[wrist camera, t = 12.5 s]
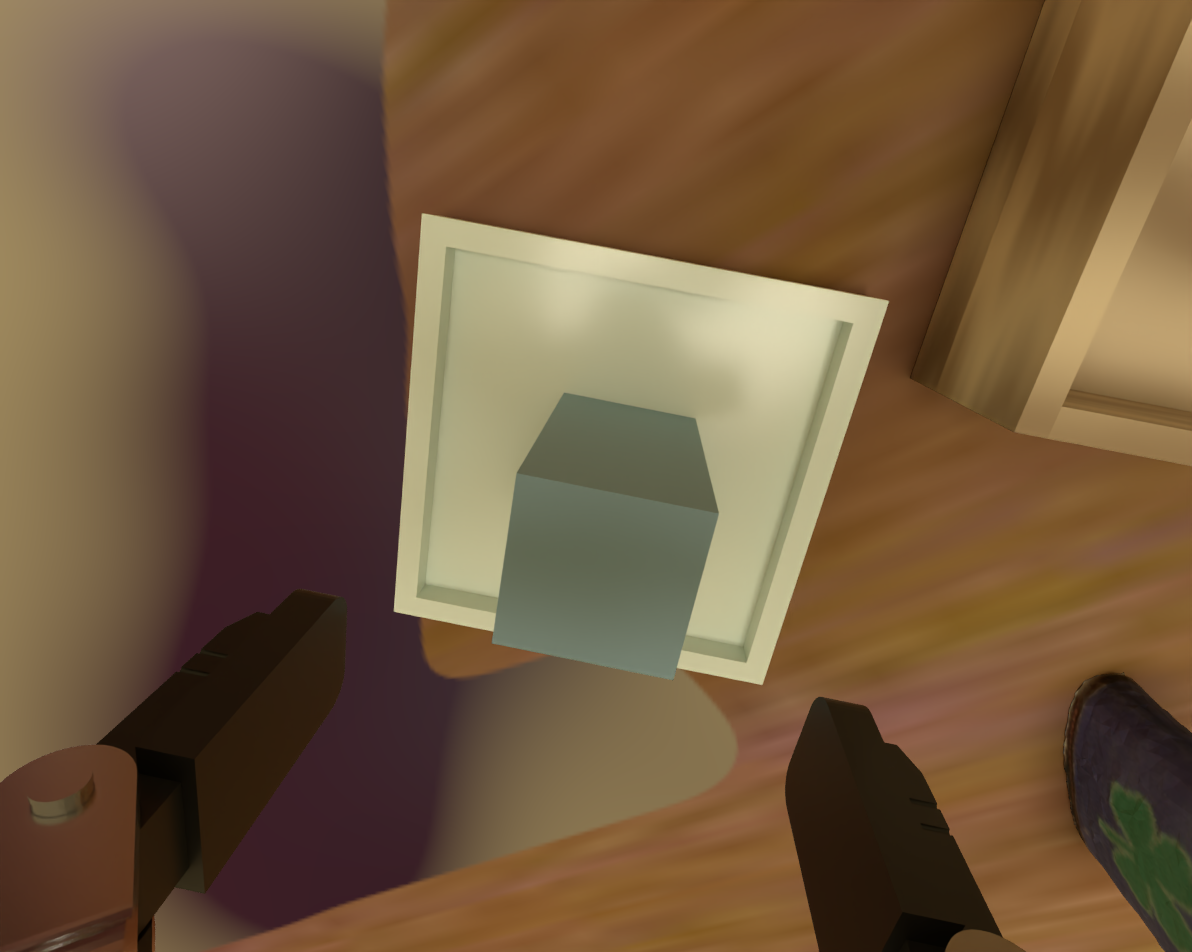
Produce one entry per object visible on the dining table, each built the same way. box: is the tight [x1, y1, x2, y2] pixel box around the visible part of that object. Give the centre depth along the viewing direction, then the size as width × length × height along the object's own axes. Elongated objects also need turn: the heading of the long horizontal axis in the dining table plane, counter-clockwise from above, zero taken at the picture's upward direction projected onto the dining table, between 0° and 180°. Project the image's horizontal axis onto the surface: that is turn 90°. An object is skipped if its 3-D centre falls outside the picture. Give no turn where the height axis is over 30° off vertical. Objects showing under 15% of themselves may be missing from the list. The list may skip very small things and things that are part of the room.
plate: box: [394, 213, 889, 685], centre depth 22 cm, size 14×14×2 cm
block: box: [492, 393, 719, 680], centre depth 18 cm, size 4×4×8 cm
